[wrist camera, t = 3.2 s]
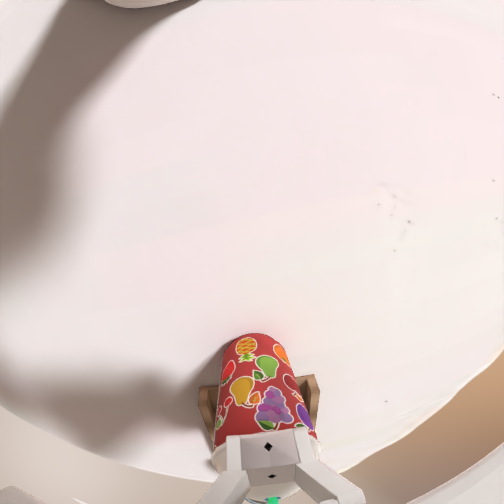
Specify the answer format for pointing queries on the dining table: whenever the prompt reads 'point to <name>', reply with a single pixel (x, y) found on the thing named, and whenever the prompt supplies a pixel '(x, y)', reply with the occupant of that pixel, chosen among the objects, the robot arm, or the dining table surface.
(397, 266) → the dining table surface
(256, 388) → the smoothie
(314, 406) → the cradle
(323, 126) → the dining table surface
